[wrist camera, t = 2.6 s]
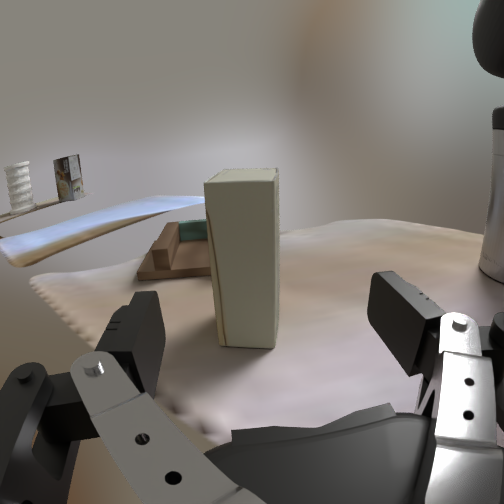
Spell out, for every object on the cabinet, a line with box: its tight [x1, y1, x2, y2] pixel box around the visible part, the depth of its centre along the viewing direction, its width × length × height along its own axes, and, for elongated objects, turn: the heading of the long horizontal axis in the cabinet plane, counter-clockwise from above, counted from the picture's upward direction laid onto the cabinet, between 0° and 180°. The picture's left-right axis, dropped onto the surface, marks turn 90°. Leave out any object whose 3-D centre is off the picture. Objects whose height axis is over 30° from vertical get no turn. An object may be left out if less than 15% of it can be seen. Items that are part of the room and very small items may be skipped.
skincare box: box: [204, 168, 280, 348], centre depth 23 cm, size 6×4×12 cm
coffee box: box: [53, 155, 85, 202], centre depth 96 cm, size 9×6×16 cm
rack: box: [137, 219, 211, 280], centre depth 39 cm, size 14×11×4 cm
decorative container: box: [4, 161, 37, 215], centre depth 89 cm, size 12×12×18 cm
